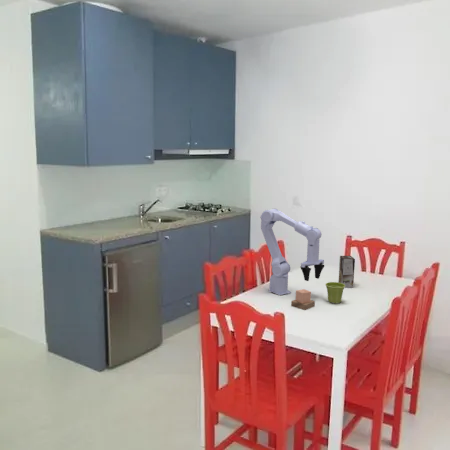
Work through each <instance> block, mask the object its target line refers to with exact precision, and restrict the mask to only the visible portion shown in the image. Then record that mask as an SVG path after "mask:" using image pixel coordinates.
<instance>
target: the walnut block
mask: <svg viewBox="0 0 450 450" xmlns="http://www.w3.org/2000/svg"><path fill="white" fill-rule="evenodd" d="M290 303H291V305H290V306H291V307H293V308H297V309H300V310H304V311H307V310H309V309H311V308H314V307H315V306H316V301H315V300H312V299H311V302H308V303H303V304H302V303H300V302H298V301H296V299H294V300H291V302H290Z"/></svg>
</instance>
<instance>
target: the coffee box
mask: <svg viewBox="0 0 450 450" xmlns="http://www.w3.org/2000/svg"><path fill="white" fill-rule="evenodd" d="M355 264H356V259H355V258H354V257H353V256H351V255H339V265H338V266H339V267H338V283H342V284H344V285H345V287H344V289H346V288H347V289H352V288H354V281H355V280H354V279H355Z"/></svg>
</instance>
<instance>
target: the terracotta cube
mask: <svg viewBox="0 0 450 450" xmlns="http://www.w3.org/2000/svg"><path fill="white" fill-rule="evenodd" d="M311 297H312V291H310V290H307V289H305V288H303V289H302V288H301V289H297V290H295V300H296V301H298V302H300V303H302V304H303V303H308V302H311V300H312V298H311Z"/></svg>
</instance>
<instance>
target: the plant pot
mask: <svg viewBox="0 0 450 450" xmlns="http://www.w3.org/2000/svg"><path fill="white" fill-rule="evenodd" d="M325 286H326V291H327V300H328V303H333V304H340V303H341V302H342V298H343V293H344V290H345V288H344V287H345V285H344V284H342V283H339V281H338V282H337V281H329V282H326V283H325Z"/></svg>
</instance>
